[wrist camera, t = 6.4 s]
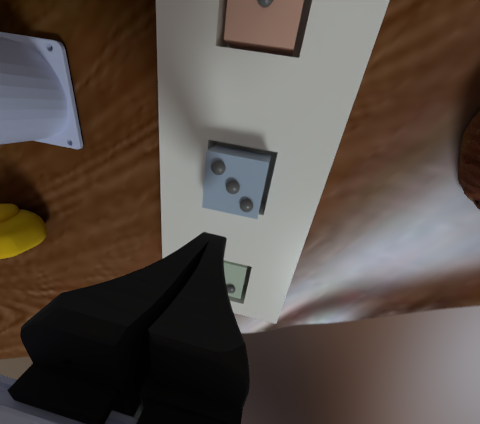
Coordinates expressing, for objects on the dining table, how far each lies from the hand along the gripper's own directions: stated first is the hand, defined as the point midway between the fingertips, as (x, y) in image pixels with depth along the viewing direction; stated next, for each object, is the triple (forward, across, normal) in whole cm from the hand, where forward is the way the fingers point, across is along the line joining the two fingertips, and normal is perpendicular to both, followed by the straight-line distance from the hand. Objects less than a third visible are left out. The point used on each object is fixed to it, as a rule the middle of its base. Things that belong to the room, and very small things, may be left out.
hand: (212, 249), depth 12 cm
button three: (+6, 0, -2) cm, 7 cm away
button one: (+8, 0, -12) cm, 15 cm away
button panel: (+8, 0, -2) cm, 9 cm away
